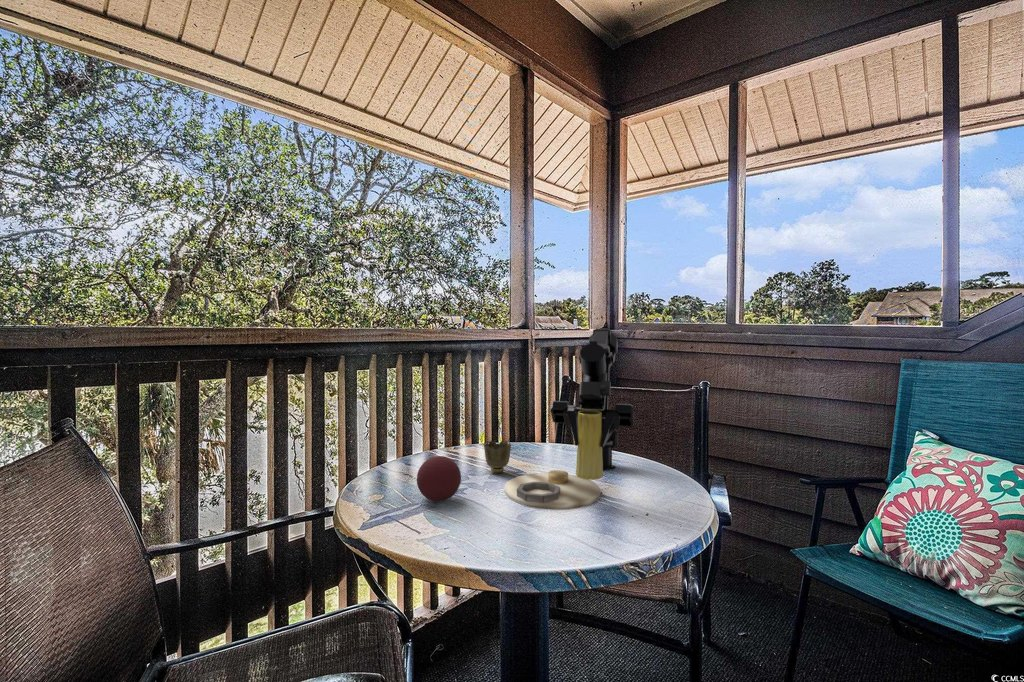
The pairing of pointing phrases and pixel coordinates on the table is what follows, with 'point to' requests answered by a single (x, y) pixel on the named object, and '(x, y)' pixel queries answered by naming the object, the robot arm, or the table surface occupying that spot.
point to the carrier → (552, 490)
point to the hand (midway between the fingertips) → (589, 445)
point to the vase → (589, 445)
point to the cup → (497, 455)
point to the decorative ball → (438, 478)
